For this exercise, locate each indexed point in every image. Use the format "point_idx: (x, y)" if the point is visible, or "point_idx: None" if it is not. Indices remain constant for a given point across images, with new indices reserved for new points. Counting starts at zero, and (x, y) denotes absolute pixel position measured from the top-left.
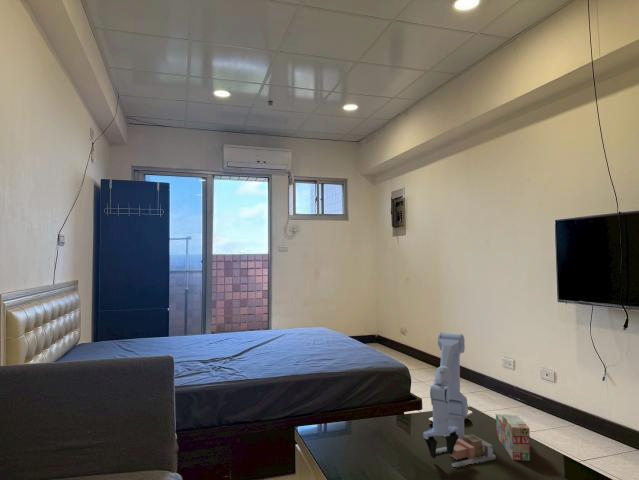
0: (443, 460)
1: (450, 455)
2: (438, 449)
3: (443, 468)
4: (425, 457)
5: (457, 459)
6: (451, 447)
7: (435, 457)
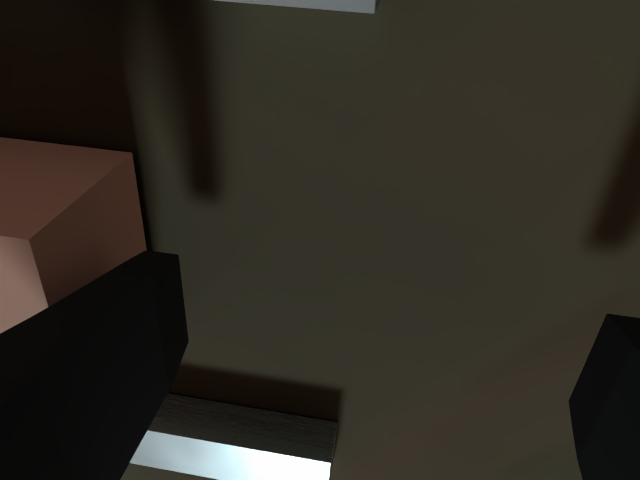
0: (344, 257)
1: None
2: (232, 462)
3: (619, 27)
4: (525, 436)
5: (100, 149)
6: (83, 355)
7: (616, 322)
